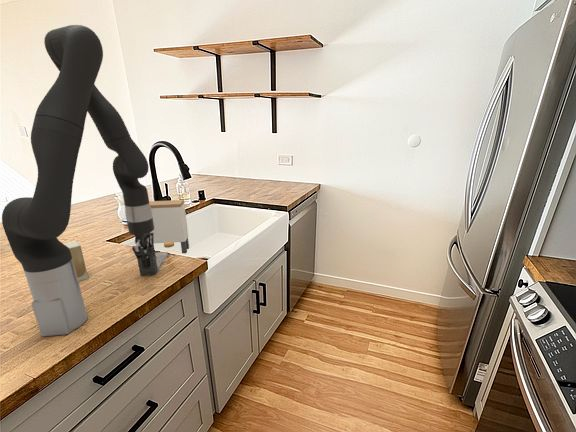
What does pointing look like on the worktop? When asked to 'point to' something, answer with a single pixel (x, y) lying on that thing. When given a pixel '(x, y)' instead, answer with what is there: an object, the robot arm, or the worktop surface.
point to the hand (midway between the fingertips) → (147, 265)
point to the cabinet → (170, 222)
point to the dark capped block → (152, 261)
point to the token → (168, 245)
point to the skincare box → (77, 259)
